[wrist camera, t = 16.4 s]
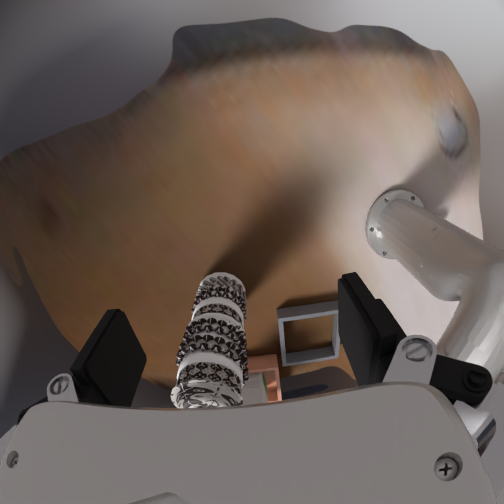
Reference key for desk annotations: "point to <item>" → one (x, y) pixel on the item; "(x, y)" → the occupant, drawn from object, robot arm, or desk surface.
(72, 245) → the desk surface
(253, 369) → the terracotta bin
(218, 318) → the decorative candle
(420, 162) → the desk surface
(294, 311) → the frame
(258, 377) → the skincare box
